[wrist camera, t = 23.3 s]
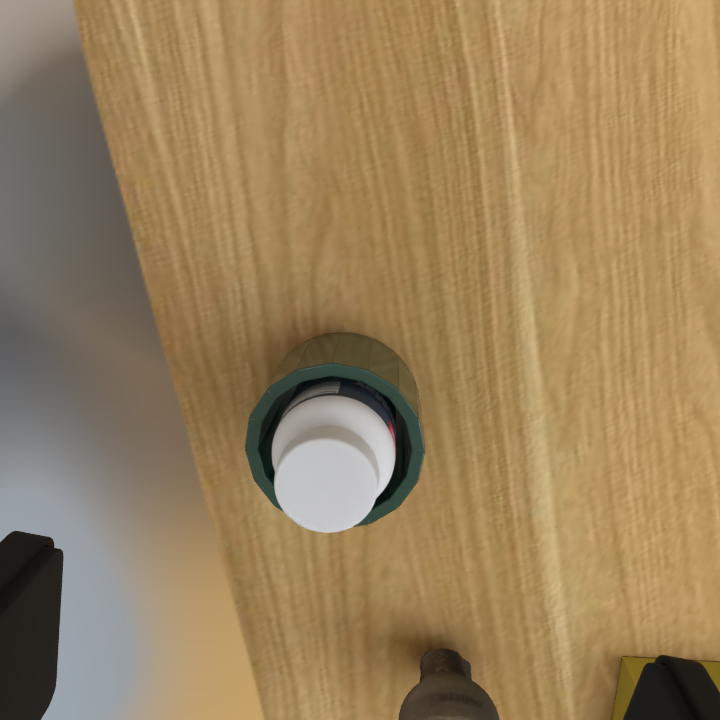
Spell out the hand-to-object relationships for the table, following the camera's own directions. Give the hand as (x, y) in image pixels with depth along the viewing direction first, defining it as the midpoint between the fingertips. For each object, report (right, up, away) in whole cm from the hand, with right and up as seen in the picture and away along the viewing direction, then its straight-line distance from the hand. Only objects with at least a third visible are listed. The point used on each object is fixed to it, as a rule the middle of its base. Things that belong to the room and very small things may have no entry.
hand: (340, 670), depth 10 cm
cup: (0, +2, +24) cm, 24 cm away
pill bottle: (0, +3, +23) cm, 23 cm away
